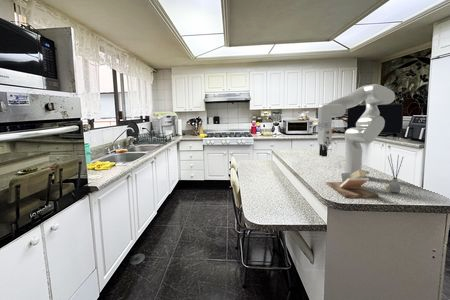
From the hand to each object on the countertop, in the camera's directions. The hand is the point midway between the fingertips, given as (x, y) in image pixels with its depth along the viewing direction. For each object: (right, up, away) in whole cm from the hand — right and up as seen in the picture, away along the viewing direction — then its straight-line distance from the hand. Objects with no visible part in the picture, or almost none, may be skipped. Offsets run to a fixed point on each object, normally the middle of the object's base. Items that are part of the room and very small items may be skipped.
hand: (323, 155), depth 141 cm
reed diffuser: (+27, -19, -20) cm, 38 cm away
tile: (+7, -13, -20) cm, 25 cm away
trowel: (+7, -12, -16) cm, 21 cm away
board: (+7, -18, -16) cm, 25 cm away
